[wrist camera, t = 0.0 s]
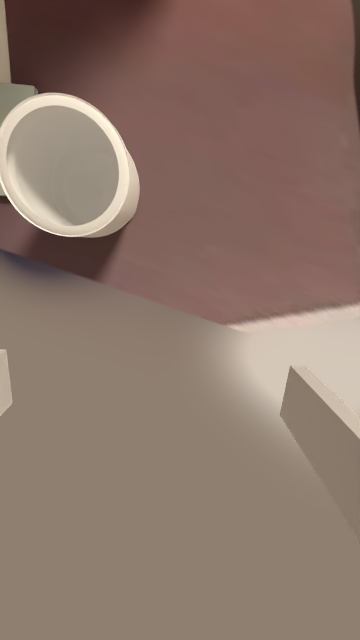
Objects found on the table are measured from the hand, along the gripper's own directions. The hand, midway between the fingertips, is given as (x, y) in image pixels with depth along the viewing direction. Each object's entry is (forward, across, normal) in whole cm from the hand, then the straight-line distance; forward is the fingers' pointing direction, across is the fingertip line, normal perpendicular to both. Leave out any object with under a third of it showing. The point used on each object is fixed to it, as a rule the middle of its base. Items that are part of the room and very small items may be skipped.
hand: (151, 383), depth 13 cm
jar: (+28, -8, +11) cm, 31 cm away
